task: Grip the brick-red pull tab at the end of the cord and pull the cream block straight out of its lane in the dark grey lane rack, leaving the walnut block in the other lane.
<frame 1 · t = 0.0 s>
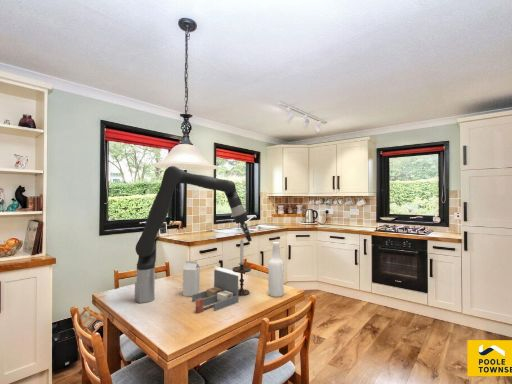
hand: (249, 240, 160), 31 cm above the table, tool tilted 20°, fingers open, 8 cm apart
lane rack: (215, 301, 149), on the table
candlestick: (241, 293, 163), on the table
walnut block: (214, 298, 155), resting in lane rack
alcohol: (275, 294, 161), on the table
milk carton: (191, 294, 161), on the table
corded block: (224, 302, 149), on the table
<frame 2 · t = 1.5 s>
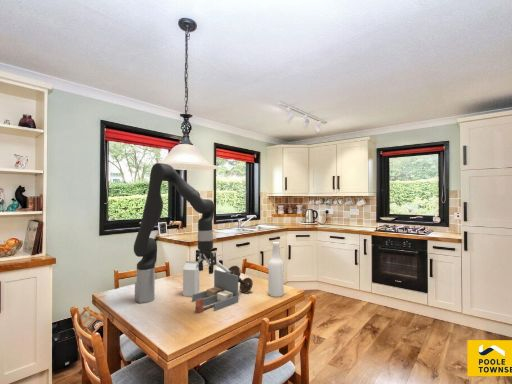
hand: (205, 272, 138), 19 cm above the table, tool pointing down, fingers open, 8 cm apart
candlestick: (246, 285, 166), point 3 cm above the table, touching lane rack
everything else where it was.
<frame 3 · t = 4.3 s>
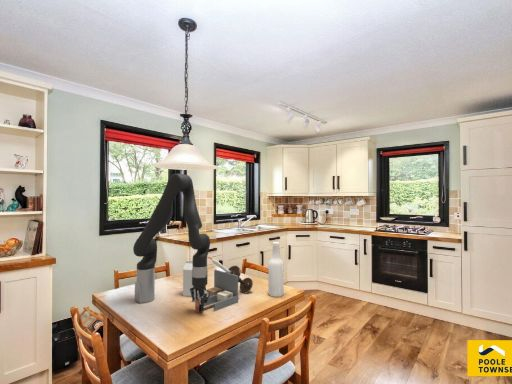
hand: (199, 310, 136), 1 cm above the table, tool pointing down, fingers closed on corded block, 2 cm apart
corded block: (224, 302, 148), on the table, touching gripper
everything else where it was.
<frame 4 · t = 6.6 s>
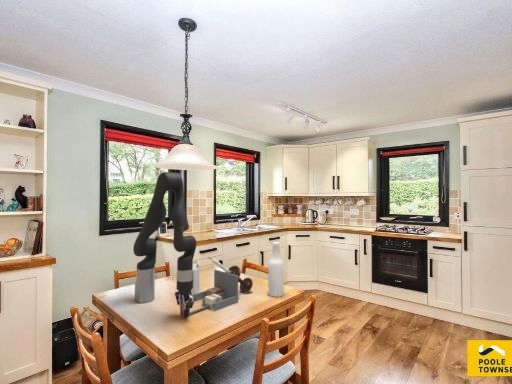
hand: (184, 315, 130), 1 cm above the table, tool pointing down, fingers closed on corded block, 2 cm apart
corded block: (213, 306, 143), on the table, touching gripper
everything else where it was.
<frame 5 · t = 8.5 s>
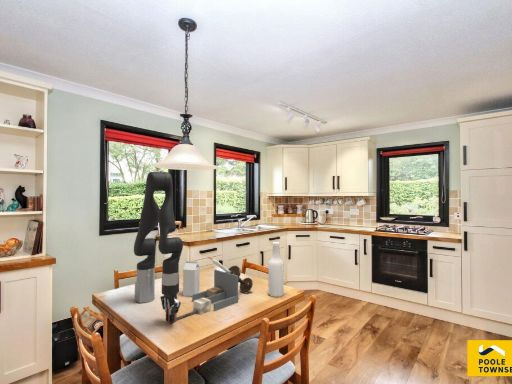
hand: (170, 321, 124), 1 cm above the table, tool pointing down, fingers closed on corded block, 2 cm apart
corded block: (202, 310, 137), on the table, touching gripper
everything else where it was.
when the fingers open (1 cm above the table, at t = 9.3 s): corded block stays where it is, on the table.
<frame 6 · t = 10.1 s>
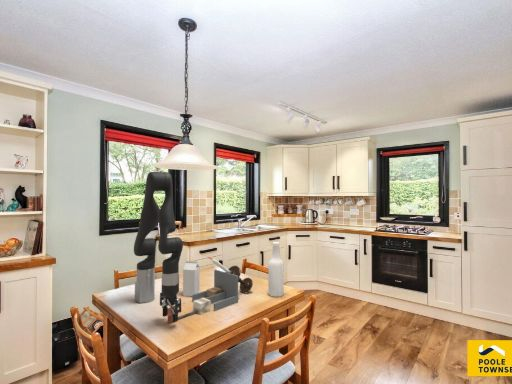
hand: (170, 318, 125), 2 cm above the table, tool pointing down, fingers open, 8 cm apart
corded block: (201, 310, 137), on the table
everything else where it was.
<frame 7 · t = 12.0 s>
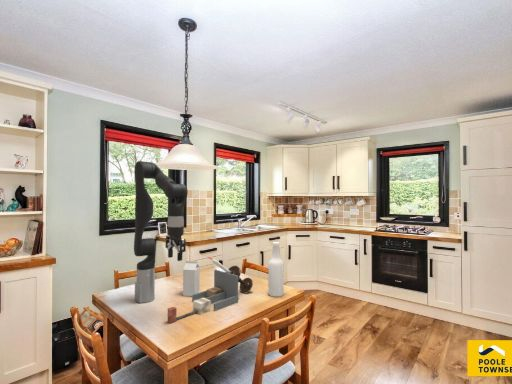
hand: (175, 259, 134), 26 cm above the table, tool pointing down, fingers open, 8 cm apart
nothing on the table moved.
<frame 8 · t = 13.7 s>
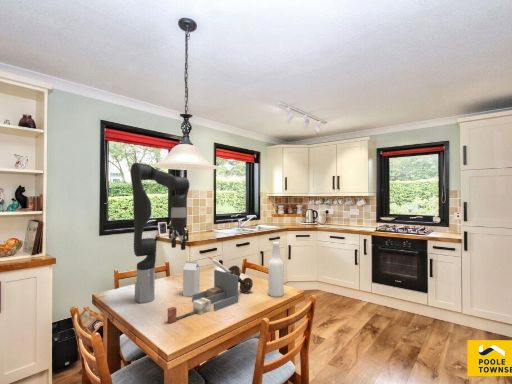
hand: (178, 248, 140), 30 cm above the table, tool pointing down, fingers open, 8 cm apart
nothing on the table moved.
at the end: corded block inside the target area (5.0 cm from its centre), on the table; corded block tilted 0°; walnut block moved 0.2 cm from its start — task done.
